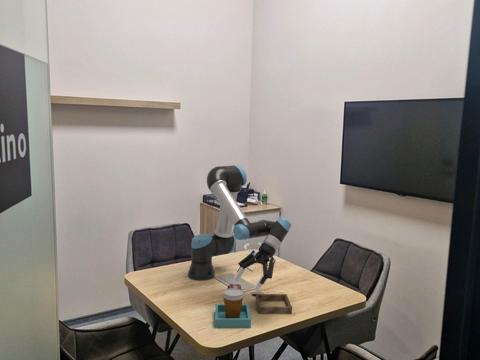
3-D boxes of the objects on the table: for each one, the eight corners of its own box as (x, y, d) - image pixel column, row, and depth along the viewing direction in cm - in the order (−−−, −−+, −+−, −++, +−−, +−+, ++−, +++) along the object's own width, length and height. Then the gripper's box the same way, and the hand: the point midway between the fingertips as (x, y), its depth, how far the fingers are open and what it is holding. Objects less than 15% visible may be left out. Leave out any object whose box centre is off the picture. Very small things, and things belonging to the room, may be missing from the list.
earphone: (250, 267, 241) (243, 241, 252) (244, 281, 253) (237, 256, 264) (272, 265, 245) (264, 240, 257) (264, 279, 257) (257, 255, 268)
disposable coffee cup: (246, 315, 187) (247, 290, 185) (237, 324, 178) (238, 298, 176) (228, 311, 191) (228, 286, 189) (218, 319, 182) (218, 293, 181)
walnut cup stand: (258, 313, 190) (258, 307, 190) (255, 299, 205) (255, 294, 205) (291, 313, 191) (292, 307, 190) (286, 299, 206) (286, 294, 206)
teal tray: (214, 327, 176) (215, 319, 176) (215, 311, 191) (215, 304, 191) (250, 327, 177) (251, 319, 176) (248, 311, 192) (248, 304, 192)
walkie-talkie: (224, 288, 220) (225, 304, 200) (224, 280, 219) (225, 296, 199) (240, 288, 220) (243, 304, 200) (241, 280, 220) (243, 296, 200)
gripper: (293, 257, 188) (269, 297, 180) (254, 244, 206) (231, 280, 198) (285, 248, 184) (261, 289, 176) (247, 236, 202) (223, 272, 194)
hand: (245, 284), depth 187 cm, fingers open, 13 cm apart
